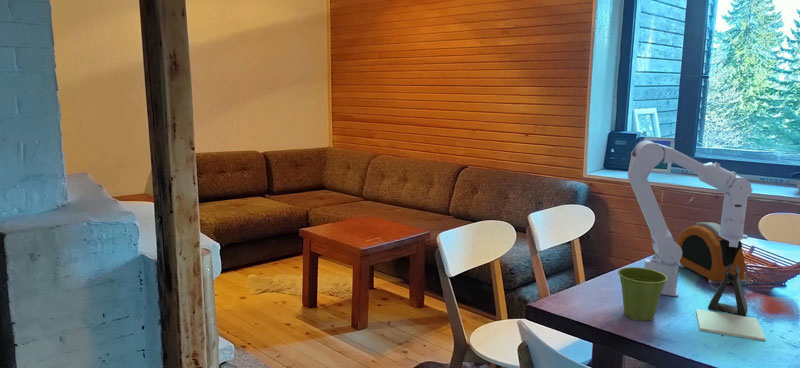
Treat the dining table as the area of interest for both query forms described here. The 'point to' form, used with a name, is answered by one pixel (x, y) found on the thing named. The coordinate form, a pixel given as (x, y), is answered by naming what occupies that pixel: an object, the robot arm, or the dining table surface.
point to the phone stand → (740, 299)
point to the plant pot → (641, 291)
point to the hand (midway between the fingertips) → (727, 265)
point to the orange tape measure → (706, 252)
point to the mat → (729, 324)
